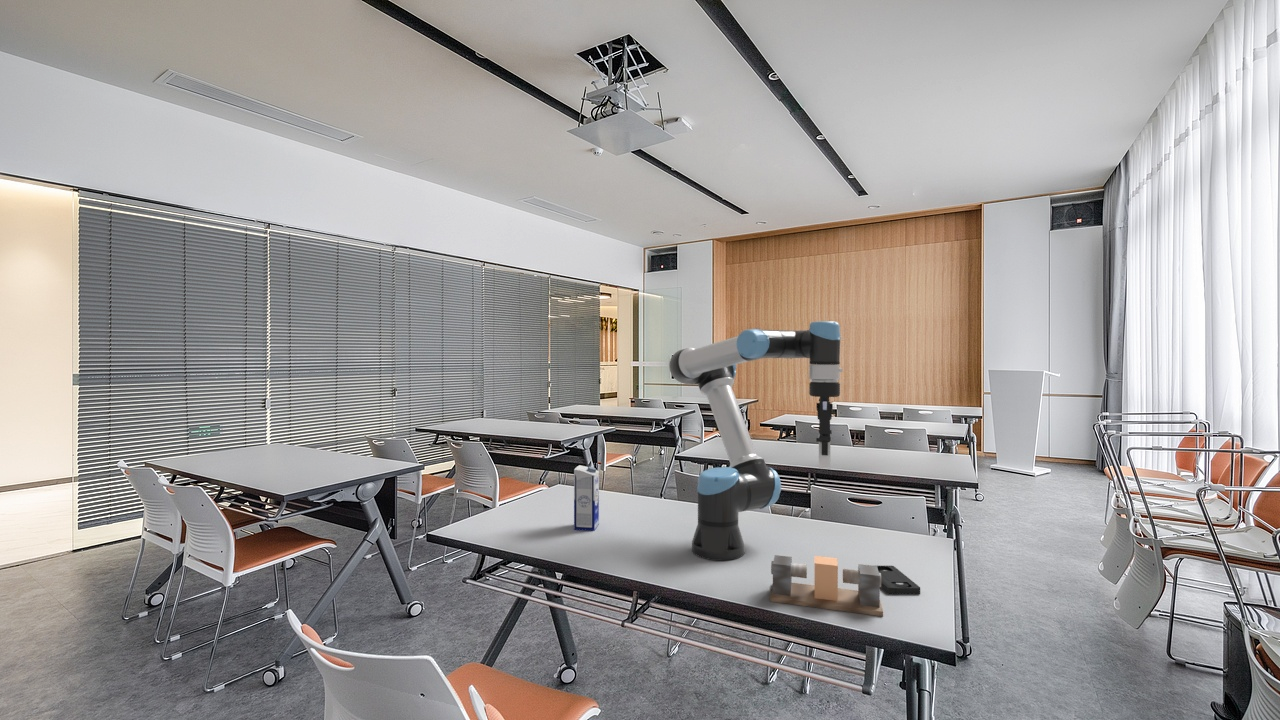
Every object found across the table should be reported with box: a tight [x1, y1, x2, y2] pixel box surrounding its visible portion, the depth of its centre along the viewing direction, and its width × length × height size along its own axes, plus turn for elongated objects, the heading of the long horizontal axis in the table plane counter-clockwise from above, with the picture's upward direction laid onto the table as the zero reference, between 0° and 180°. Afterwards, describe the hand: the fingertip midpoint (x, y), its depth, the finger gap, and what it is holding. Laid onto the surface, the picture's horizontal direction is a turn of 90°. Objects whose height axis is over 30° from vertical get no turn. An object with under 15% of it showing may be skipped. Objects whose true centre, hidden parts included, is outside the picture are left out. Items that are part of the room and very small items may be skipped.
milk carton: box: [573, 464, 600, 532], centre depth 183 cm, size 7×7×20 cm
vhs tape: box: [876, 565, 921, 595], centre depth 139 cm, size 14×8×2 cm, turn 1°
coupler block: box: [814, 555, 839, 601], centre depth 129 cm, size 5×5×8 cm
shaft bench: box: [769, 554, 884, 617], centre depth 129 cm, size 24×10×8 cm, turn 72°
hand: (824, 463), depth 144 cm, fingers open, 13 cm apart
